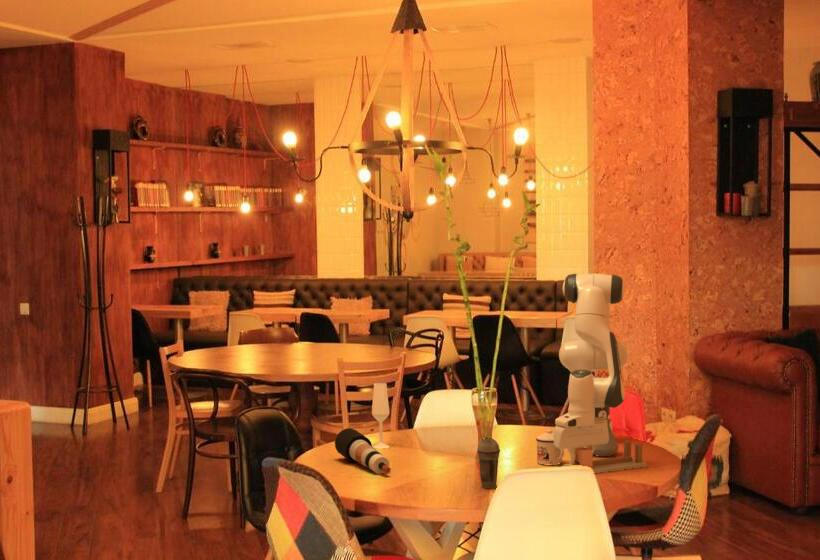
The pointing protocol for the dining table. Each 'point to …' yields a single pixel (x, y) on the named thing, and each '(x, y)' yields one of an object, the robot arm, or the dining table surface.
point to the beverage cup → (488, 461)
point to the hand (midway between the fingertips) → (581, 459)
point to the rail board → (619, 460)
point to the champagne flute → (380, 409)
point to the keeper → (584, 456)
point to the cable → (360, 451)
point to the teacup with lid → (548, 449)
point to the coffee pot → (606, 445)
